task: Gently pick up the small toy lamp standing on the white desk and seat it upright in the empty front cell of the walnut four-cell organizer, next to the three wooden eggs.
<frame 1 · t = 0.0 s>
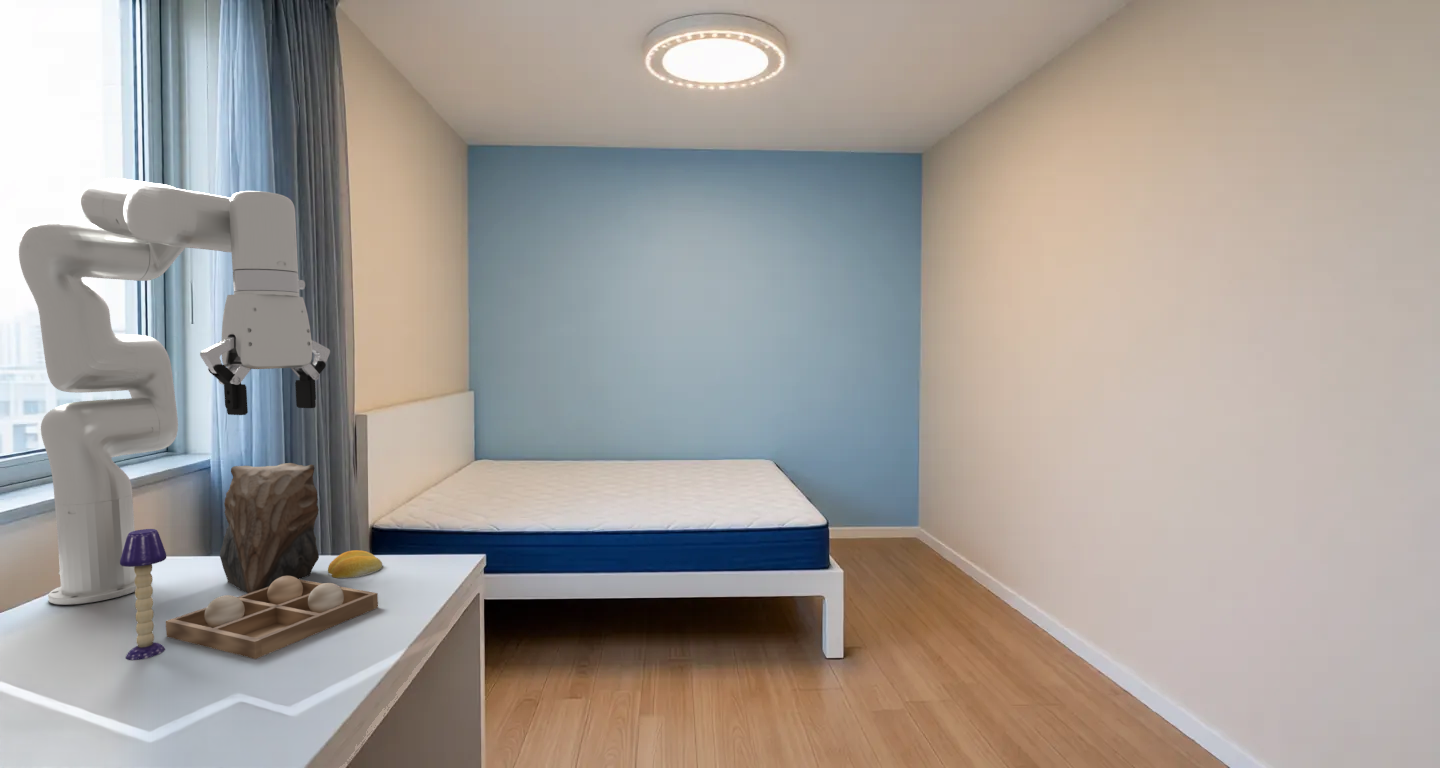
hand: (273, 411, 97), 31 cm above the table, tool pointing down, fingers open, 9 cm apart
bread roll: (355, 576, 124), on the table
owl: (265, 586, 118), on the table
egg b: (286, 606, 107), point 1 cm above the table, touching organizer
toy lamp: (149, 659, 91), on the table
egg c: (326, 614, 103), point 1 cm above the table, touching organizer
egg a: (225, 628, 98), point 1 cm above the table, touching organizer
organizer: (277, 626, 101), on the table
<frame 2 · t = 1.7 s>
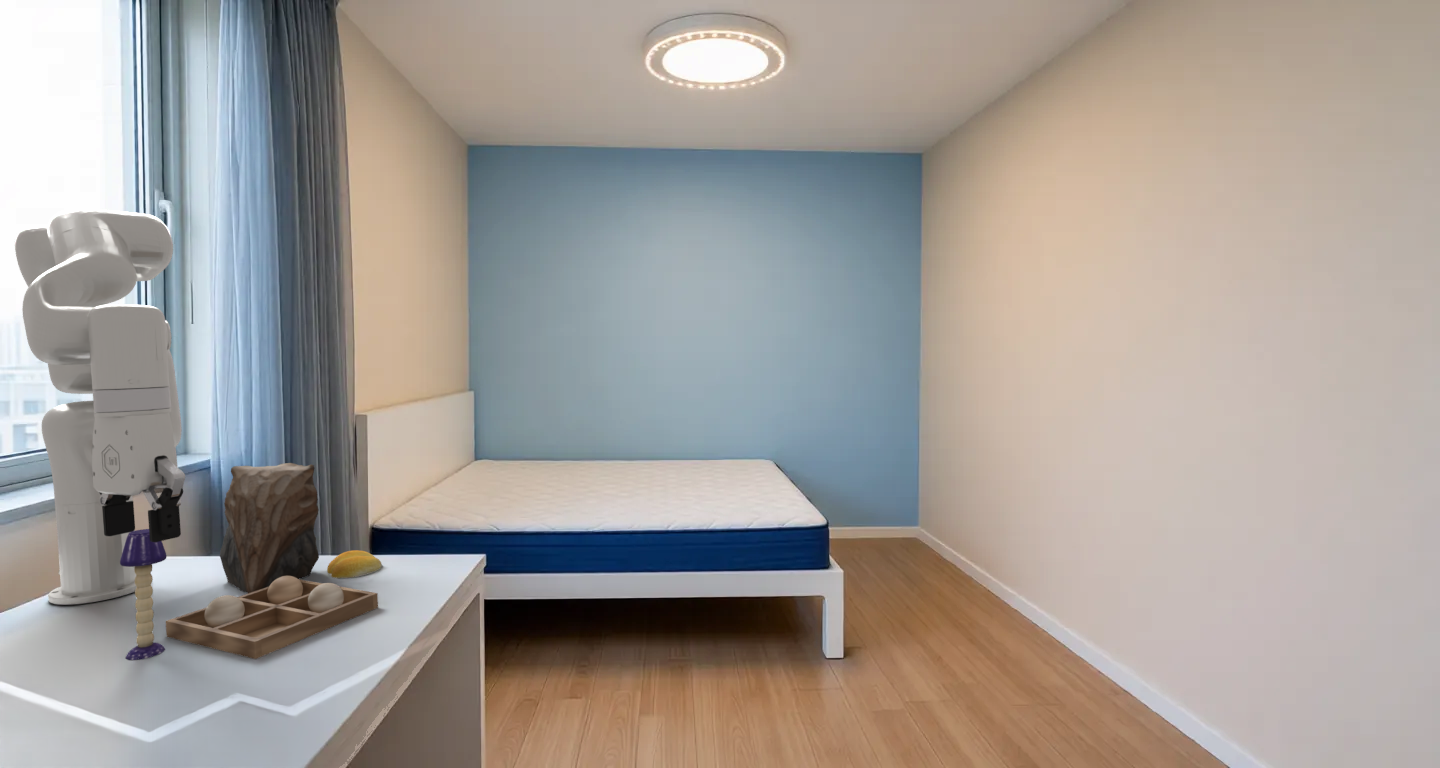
hand: (142, 536, 90), 16 cm above the table, tool pointing down, fingers open, 9 cm apart
nothing on the table moved.
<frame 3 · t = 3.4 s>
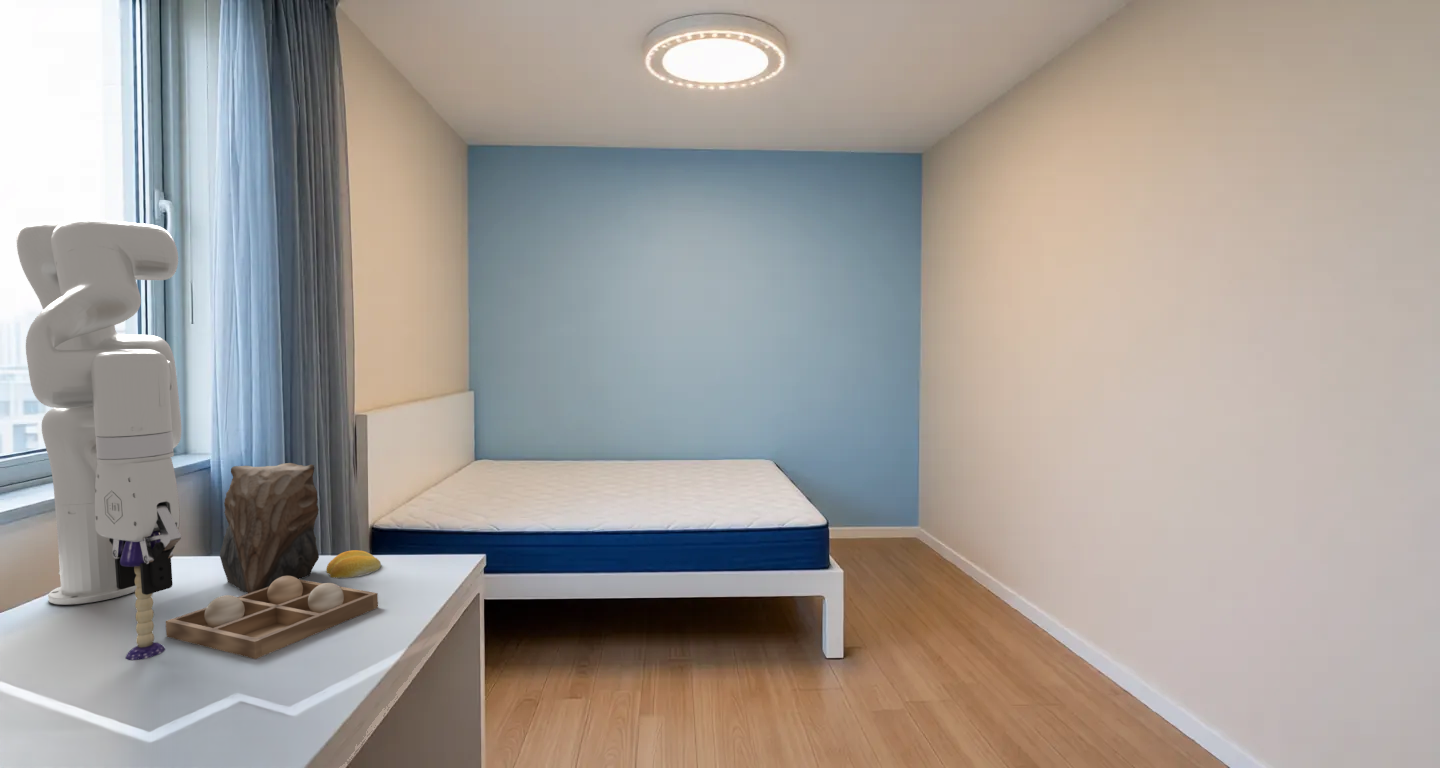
hand: (144, 586, 91), 9 cm above the table, tool pointing down, fingers closed on toy lamp, 4 cm apart
toy lamp: (149, 659, 91), on the table, touching gripper
everything else where it was.
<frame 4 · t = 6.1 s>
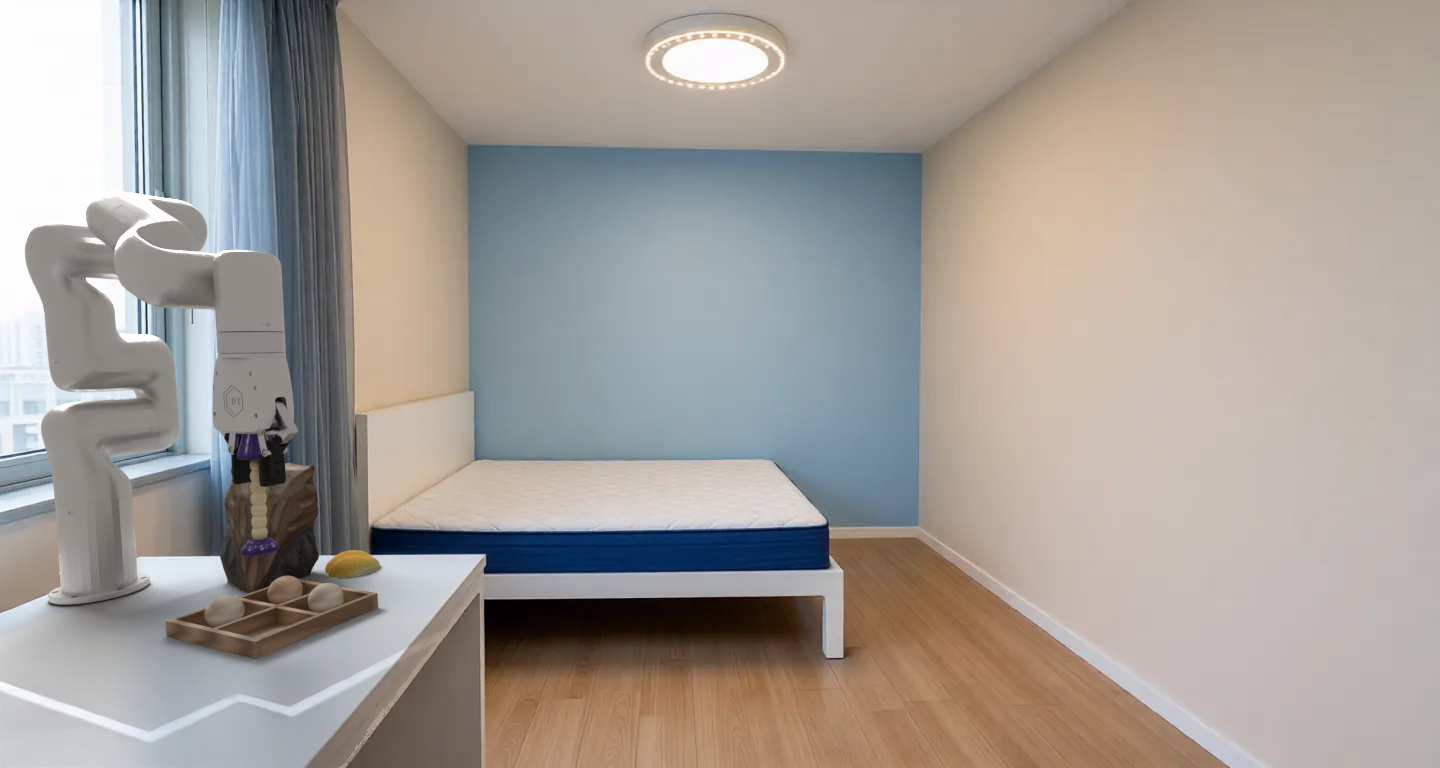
hand: (259, 482, 94), 22 cm above the table, tool pointing down, fingers closed on toy lamp, 4 cm apart
toy lamp: (263, 553, 94), point 12 cm above the table, touching gripper
everything else where it was.
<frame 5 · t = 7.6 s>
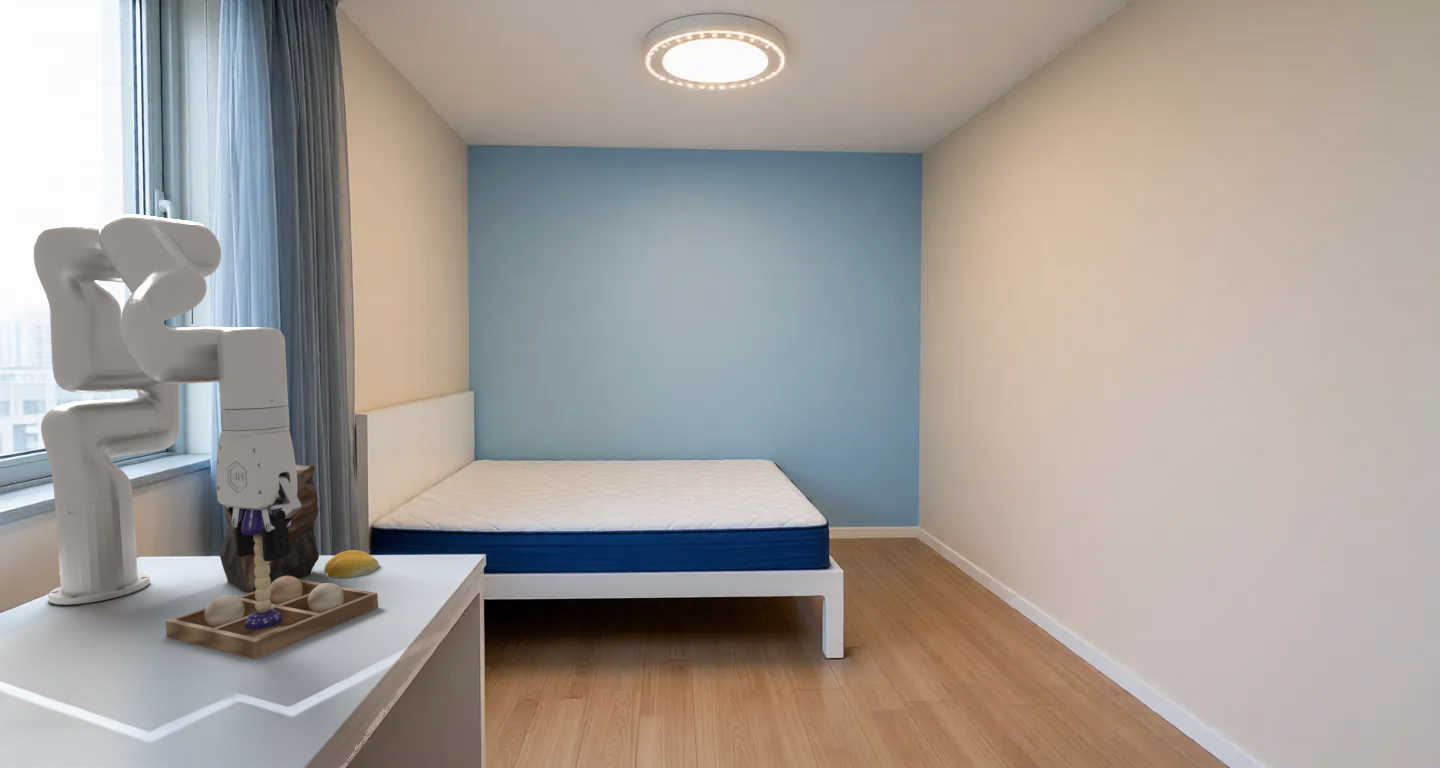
hand: (263, 554, 94), 12 cm above the table, tool pointing down, fingers closed on toy lamp, 4 cm apart
toy lamp: (266, 624, 95), point 3 cm above the table, touching gripper
everything else where it was.
when the fingers open (11 cm above the table, at t = 8.7 s): toy lamp stays where it is, resting on organizer.
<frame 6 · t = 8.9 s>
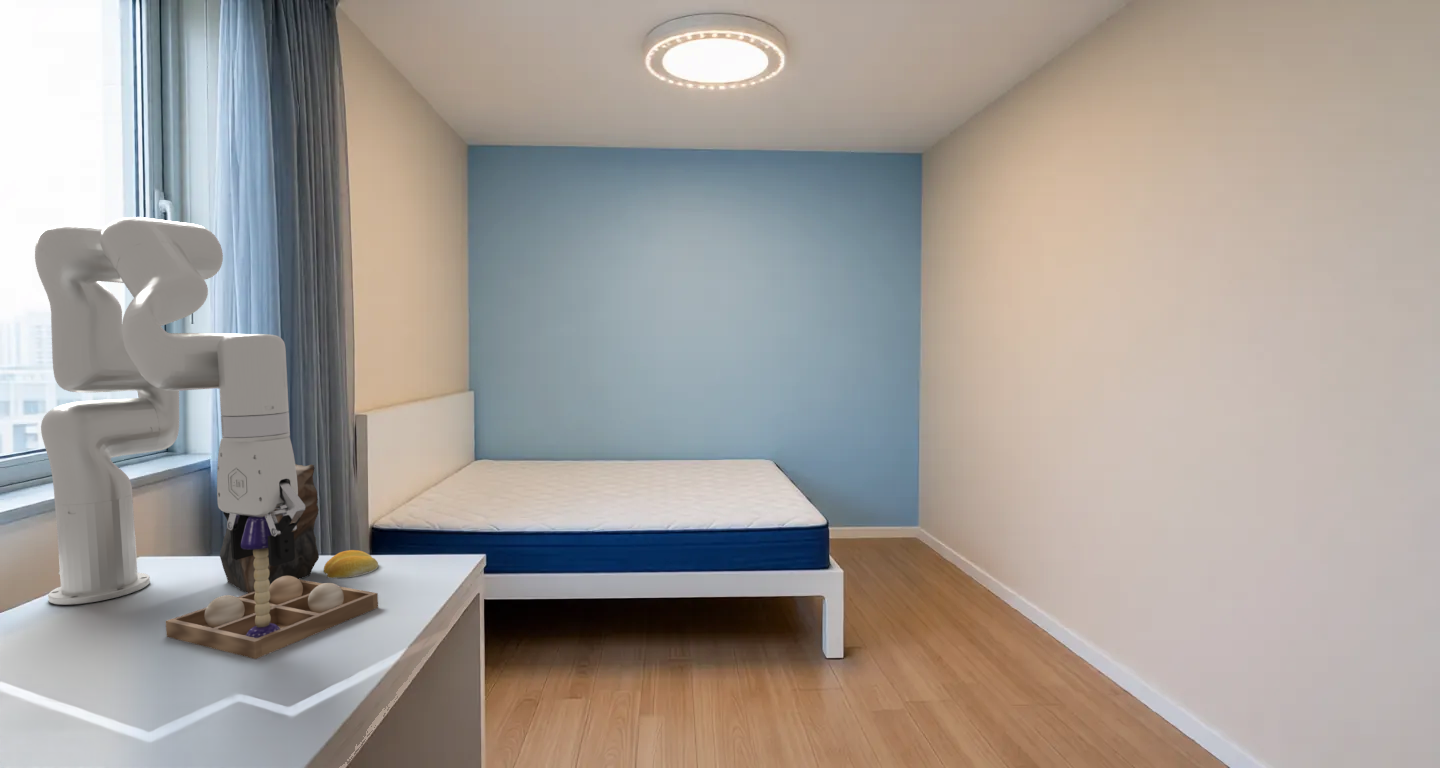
hand: (263, 558, 94), 12 cm above the table, tool pointing down, fingers open, 6 cm apart
toy lamp: (266, 639, 95), point 1 cm above the table, touching organizer
everything else where it was.
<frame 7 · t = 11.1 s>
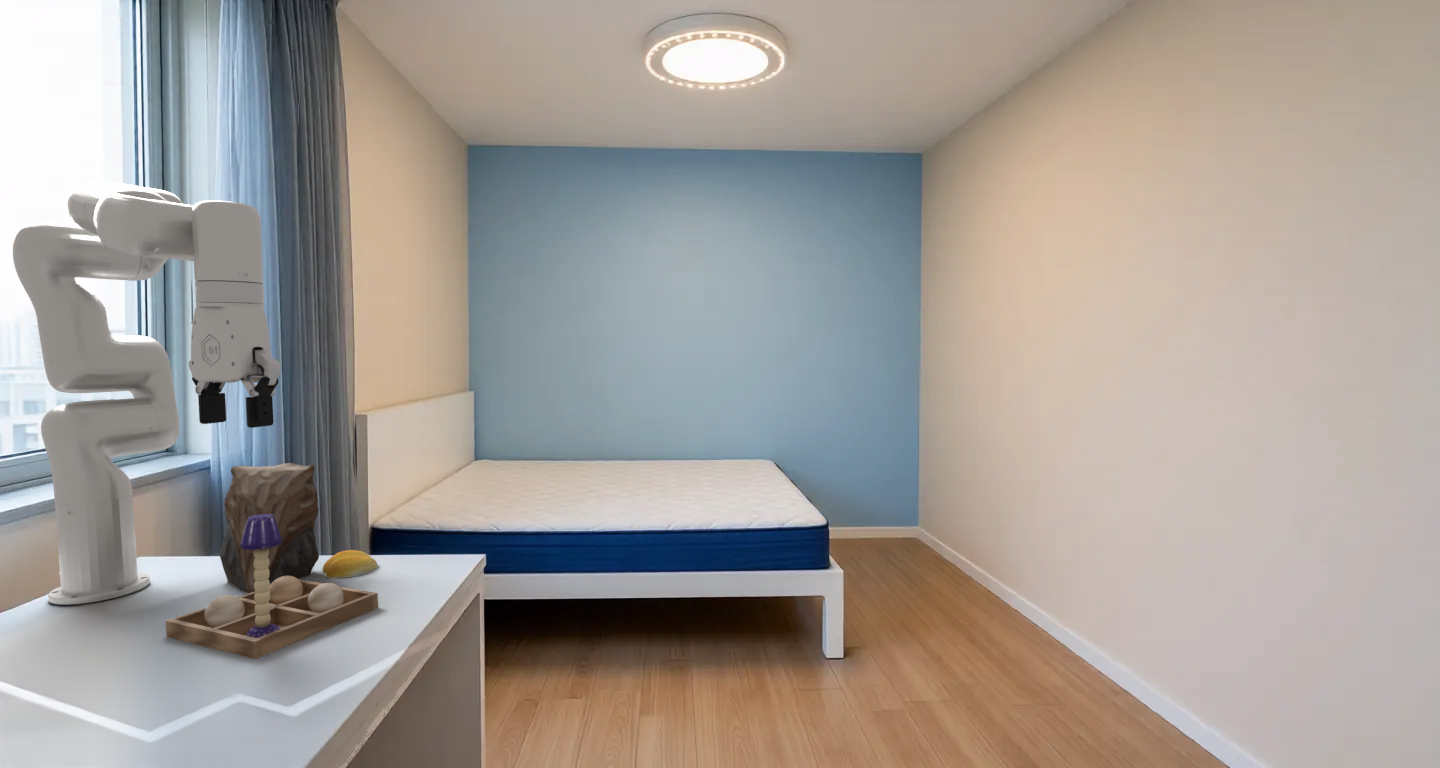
hand: (236, 424, 95), 30 cm above the table, tool pointing down, fingers open, 9 cm apart
nothing on the table moved.
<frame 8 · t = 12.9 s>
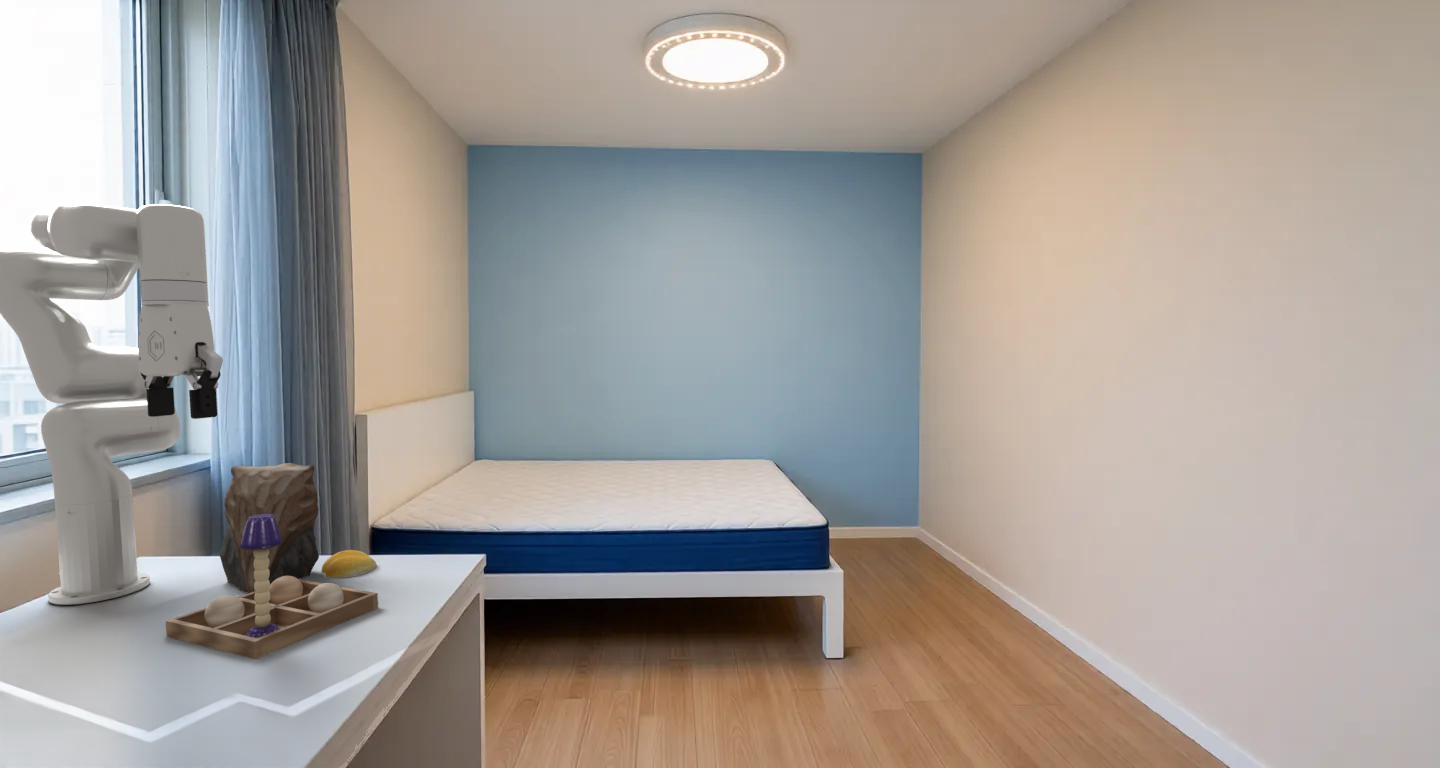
hand: (182, 416, 100), 30 cm above the table, tool pointing down, fingers open, 9 cm apart
at the end: toy lamp inside the target area on the organizer (0.3 cm from its centre), point 0.6 cm above the organizer's base; toy lamp tilted 0°; the gripper is holding nothing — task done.
